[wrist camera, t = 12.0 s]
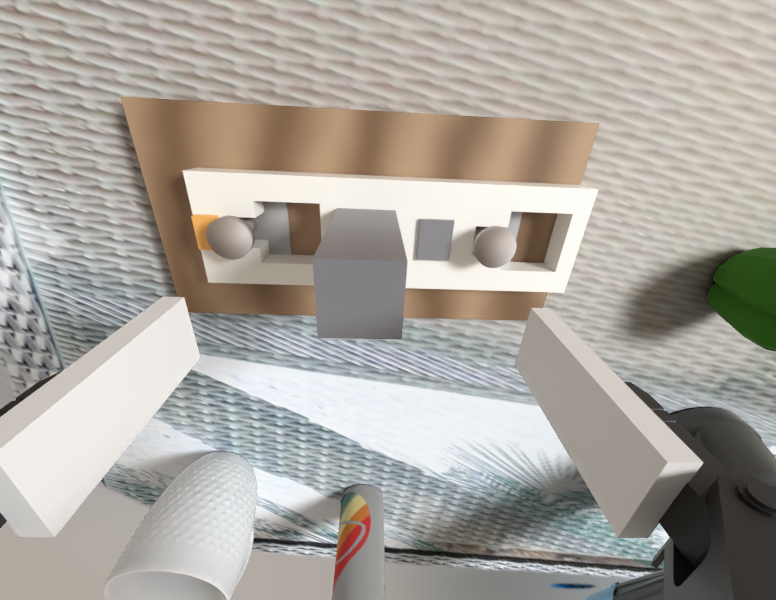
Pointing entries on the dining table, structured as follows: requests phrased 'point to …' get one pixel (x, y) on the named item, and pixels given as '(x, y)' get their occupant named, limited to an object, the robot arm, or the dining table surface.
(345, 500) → the lotion bottle
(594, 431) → the robot arm
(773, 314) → the bell pepper
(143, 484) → the dining table surface
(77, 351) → the dining table surface
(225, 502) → the mug
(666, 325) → the dining table surface
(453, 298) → the pin board
